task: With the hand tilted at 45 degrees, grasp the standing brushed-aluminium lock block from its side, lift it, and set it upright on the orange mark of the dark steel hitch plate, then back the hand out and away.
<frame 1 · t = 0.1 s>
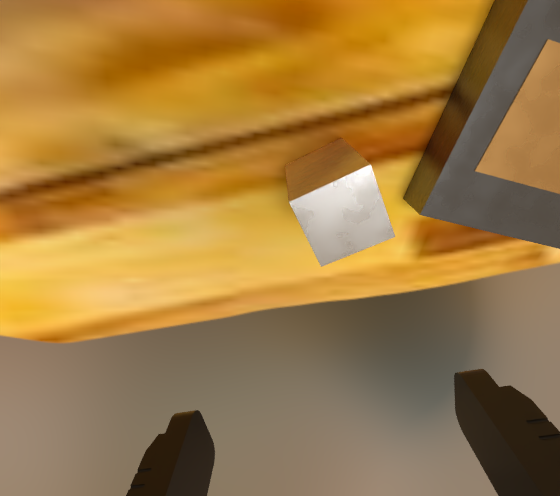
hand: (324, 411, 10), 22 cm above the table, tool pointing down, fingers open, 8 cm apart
steel hitch plate: (532, 123, 27), on the table
aluminium lock block: (324, 178, 29), on the table
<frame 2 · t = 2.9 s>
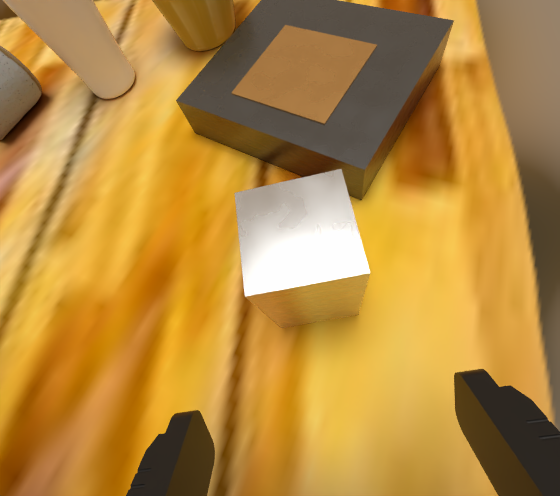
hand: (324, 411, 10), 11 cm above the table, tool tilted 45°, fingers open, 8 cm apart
steel hitch plate: (312, 100, 30), on the table
aluminium lock block: (312, 284, 23), on the table
ceramic mug: (12, 115, 38), on the table
white tube: (117, 86, 37), on the table
plant pot: (209, 34, 37), on the table
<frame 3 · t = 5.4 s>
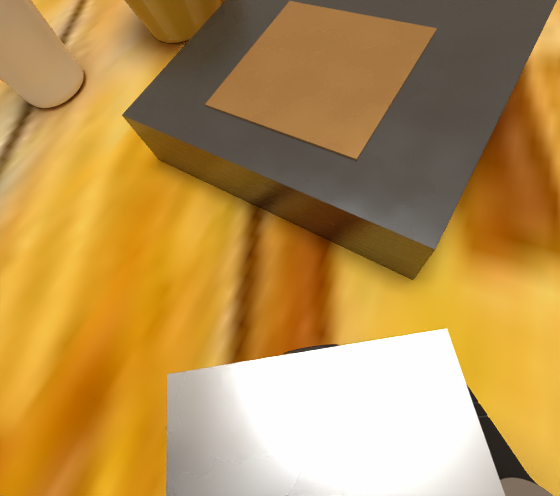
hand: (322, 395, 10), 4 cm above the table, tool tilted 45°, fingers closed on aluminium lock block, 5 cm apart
steel hitch plate: (329, 113, 20), on the table
aluminium lock block: (336, 435, 14), on the table, touching gripper
white tube: (61, 90, 27), on the table
plant pot: (186, 21, 28), on the table
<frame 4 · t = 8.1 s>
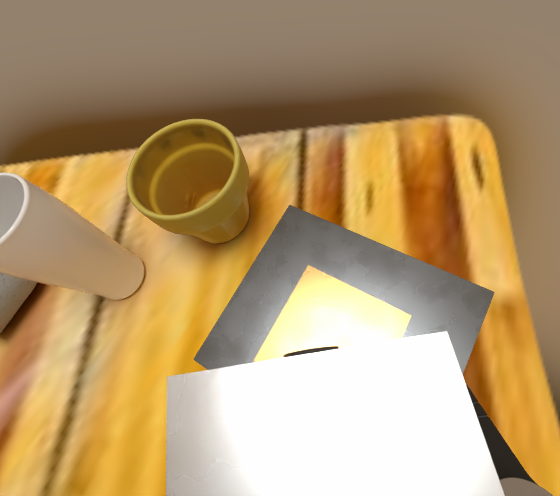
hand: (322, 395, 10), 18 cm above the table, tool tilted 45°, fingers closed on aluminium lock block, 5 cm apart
steel hitch plate: (337, 333, 28), on the table
aluminium lock block: (336, 436, 14), point 14 cm above the table, touching gripper
ceramic mug: (8, 297, 37), on the table
white tube: (125, 278, 35), on the table
plant pot: (222, 218, 35), on the table
when the fingers open (10 cm above the table, at t = 10.6 s): aluminium lock block drops 1 cm, resting on steel hitch plate.
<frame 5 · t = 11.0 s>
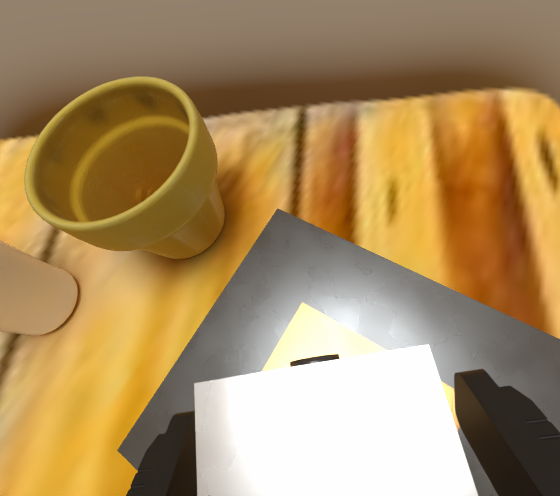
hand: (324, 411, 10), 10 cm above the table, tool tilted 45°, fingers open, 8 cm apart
steel hitch plate: (345, 404, 19), on the table
aluminium lock block: (337, 434, 15), point 4 cm above the table, touching steel hitch plate
white tube: (54, 303, 25), on the table
plant pot: (188, 224, 26), on the table
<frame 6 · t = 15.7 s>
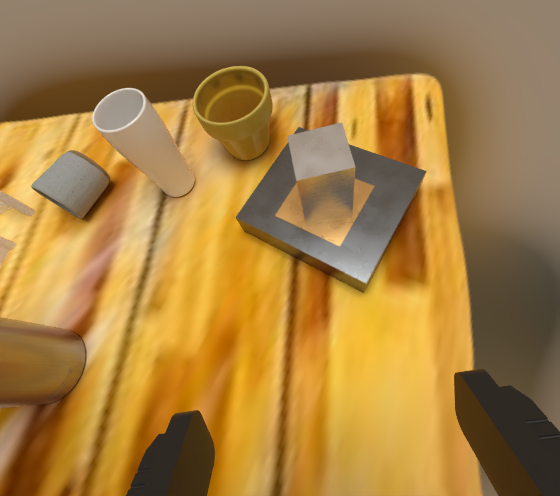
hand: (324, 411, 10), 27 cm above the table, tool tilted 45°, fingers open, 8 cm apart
steel hitch plate: (329, 210, 42), on the table
aluminium lock block: (324, 202, 38), point 4 cm above the table, touching steel hitch plate
ceramic mug: (86, 196, 52), on the table
white tube: (180, 184, 49), on the table
plant pot: (249, 145, 50), on the table
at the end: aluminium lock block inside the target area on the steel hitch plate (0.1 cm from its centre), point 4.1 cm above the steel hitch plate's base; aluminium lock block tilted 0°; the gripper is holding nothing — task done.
